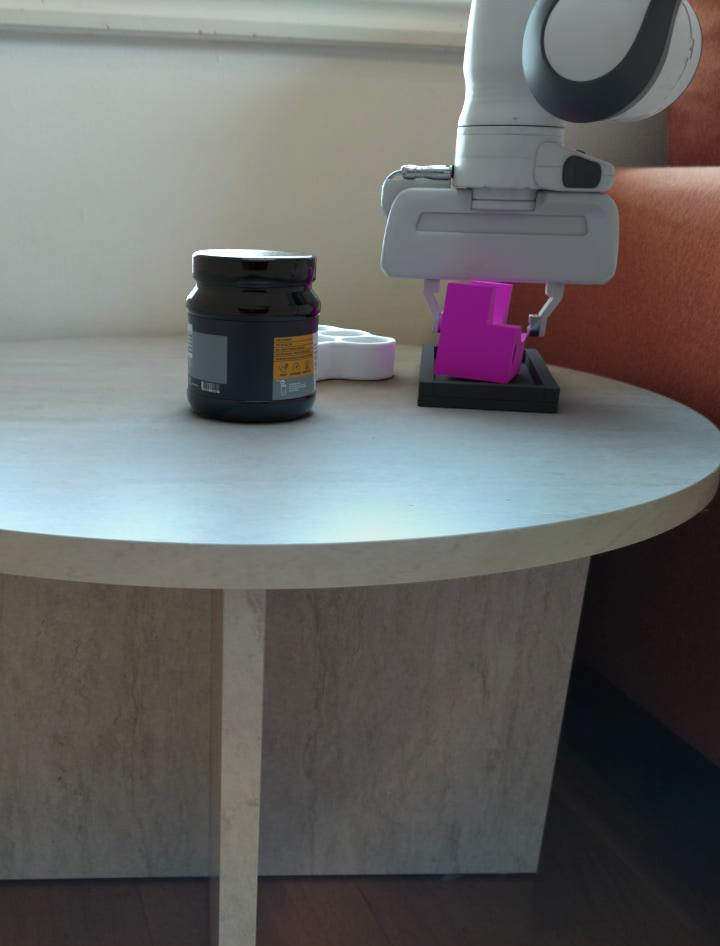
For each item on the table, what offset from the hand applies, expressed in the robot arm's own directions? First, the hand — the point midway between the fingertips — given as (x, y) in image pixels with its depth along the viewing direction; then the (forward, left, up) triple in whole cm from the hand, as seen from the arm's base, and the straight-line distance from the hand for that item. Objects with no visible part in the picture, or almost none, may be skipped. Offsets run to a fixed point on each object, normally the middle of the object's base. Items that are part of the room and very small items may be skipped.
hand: (487, 334), depth 93 cm
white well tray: (+17, -5, -5) cm, 18 cm away
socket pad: (0, 0, -5) cm, 5 cm away
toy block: (0, 0, -4) cm, 4 cm away
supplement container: (+19, +16, -5) cm, 25 cm away
